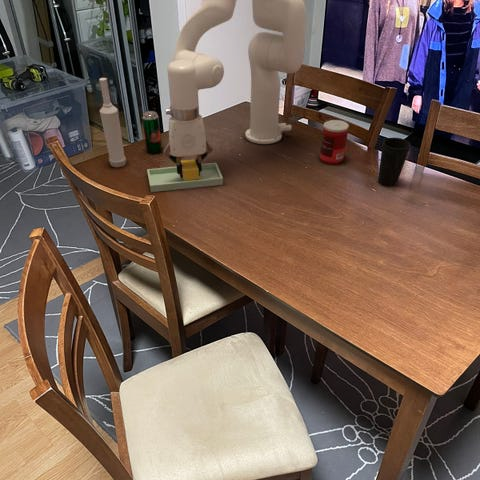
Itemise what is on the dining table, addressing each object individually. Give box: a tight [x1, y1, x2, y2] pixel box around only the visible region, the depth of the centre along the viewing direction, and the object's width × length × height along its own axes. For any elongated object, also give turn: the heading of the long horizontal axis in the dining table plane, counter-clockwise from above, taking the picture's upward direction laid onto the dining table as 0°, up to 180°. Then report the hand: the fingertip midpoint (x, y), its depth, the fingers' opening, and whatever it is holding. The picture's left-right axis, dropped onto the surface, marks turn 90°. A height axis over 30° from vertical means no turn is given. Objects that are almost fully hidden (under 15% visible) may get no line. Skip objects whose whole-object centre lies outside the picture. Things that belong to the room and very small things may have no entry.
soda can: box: [141, 110, 163, 154], centre depth 153 cm, size 5×5×12 cm
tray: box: [146, 162, 224, 193], centre depth 142 cm, size 21×10×2 cm, turn 103°
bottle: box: [99, 77, 127, 168], centre depth 142 cm, size 5×5×25 cm
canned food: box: [319, 119, 350, 165], centre depth 150 cm, size 8×8×11 cm
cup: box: [377, 137, 412, 188], centre depth 139 cm, size 8×8×12 cm
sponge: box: [181, 158, 199, 181], centre depth 141 cm, size 4×7×4 cm, turn 13°
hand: (189, 174), depth 142 cm, fingers closed on sponge, 4 cm apart
